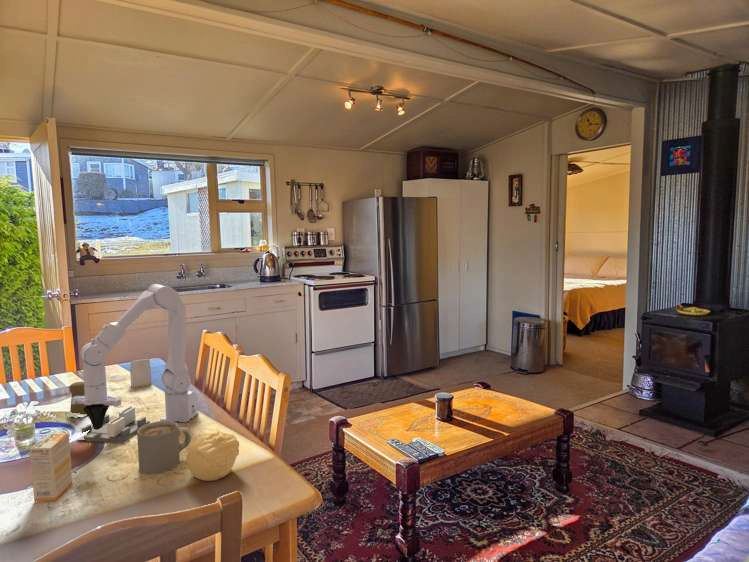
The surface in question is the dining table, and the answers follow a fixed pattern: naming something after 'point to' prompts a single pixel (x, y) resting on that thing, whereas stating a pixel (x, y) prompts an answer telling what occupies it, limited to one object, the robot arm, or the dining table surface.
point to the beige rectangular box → (140, 373)
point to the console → (125, 434)
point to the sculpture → (212, 455)
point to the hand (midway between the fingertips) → (98, 428)
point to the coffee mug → (160, 446)
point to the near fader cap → (115, 426)
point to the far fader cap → (128, 415)
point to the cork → (77, 390)
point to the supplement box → (51, 467)
